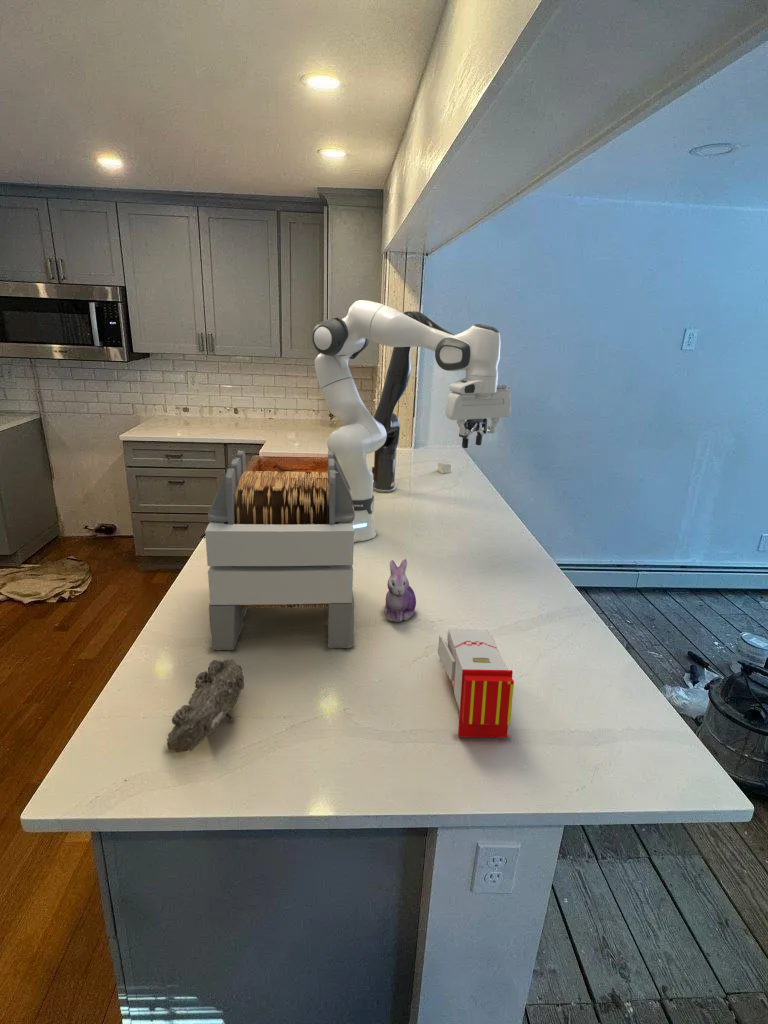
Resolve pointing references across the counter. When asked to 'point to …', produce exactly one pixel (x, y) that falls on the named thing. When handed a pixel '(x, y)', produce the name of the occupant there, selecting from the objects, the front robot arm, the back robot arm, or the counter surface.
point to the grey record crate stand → (280, 548)
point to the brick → (444, 467)
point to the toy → (478, 682)
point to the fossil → (206, 705)
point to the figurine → (399, 594)
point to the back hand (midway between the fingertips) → (471, 446)
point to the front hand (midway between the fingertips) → (477, 433)
